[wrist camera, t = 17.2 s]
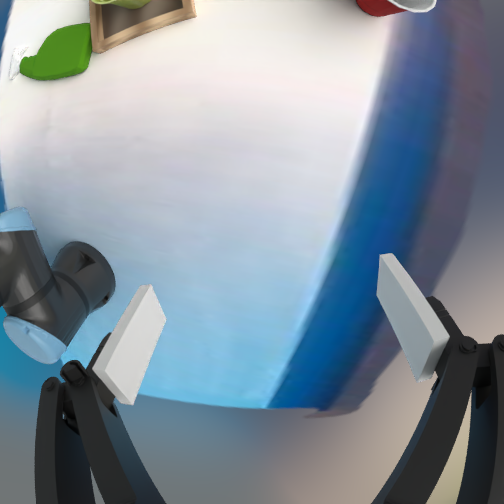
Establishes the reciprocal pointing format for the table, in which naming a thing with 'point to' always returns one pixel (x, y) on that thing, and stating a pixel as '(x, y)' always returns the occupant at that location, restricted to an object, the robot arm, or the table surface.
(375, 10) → the plastic cup
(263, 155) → the table surface
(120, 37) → the square wooden tray
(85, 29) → the spray bottle
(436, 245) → the table surface
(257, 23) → the table surface
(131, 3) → the plant pot
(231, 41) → the table surface
